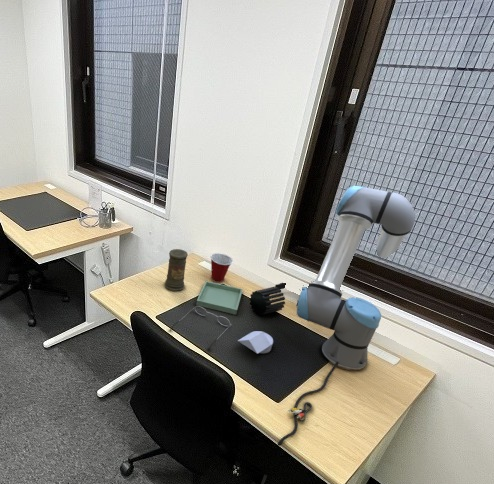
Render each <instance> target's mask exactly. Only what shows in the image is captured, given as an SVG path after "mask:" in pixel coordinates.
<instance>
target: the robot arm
mask: <svg viewBox="0 0 494 484" xmlns="http://www.w3.org/2000/svg"><path fill="white" fill-rule="evenodd" d="M335 214H336V215H337V221H338V222H339V225H338V227H337V229H336V232H335V234H334V237H333V239H332V240H331V243H330V245H329V248H328V250H327V253H326V254H325V257H324V259H323V262H322V265H321V267H320V269H319V271H318V273H317V276H316V278H315V279H314V280H315V281H313V280H312V281H313V282H312V281H310V282H311V283H310V282H308V283H309V286H308V288H307V287H304V286H303V287H302V291H301V290H300V294H299V297H298V299H297V301H296V305H295V306H296V315H297V317H298V318H299V319H303V320H305V321H307V322H310V323H313V324H315V325H318V326H321V327H322V328H323V327H324V328H326V329H330V330H332V331H333V333H332V335H331V336H329V337H328V338H327V340H325V341H324V342H323V344H322V346H321V349H320V353H321V355H322V357H323V358H324V359H325V360H326V361H327V362H328V363H330V364H331V365H333V366H332V367H331V369H330V371H329V372H328V374H327V375H326V377H325V378H324V381H323V383H322V385H321V386H320V387H319V388H317V389H314V390H310V391H307V392H305V393H303V394H301V395H300V396H299V397H298V398H297V399H296V401H295V403H294V406H293V408H297V409H298V407H299V404H300V402H301V401H302V399H304V398H305V397H306V396H309V395H312V394H316V393H319V392H321V391H322V390H324V389H325V387H326V386H327V384H328V381H329V379H330V377H331V375H332V374H333V373H334V371H335V369H336V368H338V369H341V370H345V371H352V372H358V371H361V370H363V369H364V368H365V367H366V365H367V363H368V353H369V352H368V351H369V350H368V347H369V345H370V343H371V341H372V340H373V337H374V334H375V333H376V330H377V329H378V328H379V326H380V322H381V319H382V313H381V310H380V309H379V308H378V307H377V306H376V305H374V304H373V303H372V302H370V301H369V300H366V299H363V298H361V297H354V296H352V297H349V298H347V299H342V296H343V293H342V292H343V291H341V290H340V287H341V284H342V282H343V280H344V277H345V275H346V273H347V270H348V268H349V266H350V263H351V261H352V259H353V256H354V254H356V251H357V249H358V247H359V244H360V242H361V240H362V238H363V235H364V233H365V231H366V230H368V229H371V228H372V226H373V224H377V225H380V228H381V232H380V235H379V237H378V240H377V242H376V244H377V247H376V246H375V247H376V250H377V255H378V256H379V257H382V258H386V257H388V256H390V255H391V254H393V253H394V252H395V251H396V250H397V249H398V248H400V247H399V246H401V245H402V243H403V240H404V238H405V236H407V235H409V234H410V233H411V231H412V229H413V228H414V225H415V221H416V220H415V219H416V217H415V210H414V208H413V206H412V204H411V203H410V201H409V200H408V199H407V198H406V197H405V196H403V195H402V194H400V193H397V192H392V191H387V190H381V189H377V188H371V187H366V186H358V185H352V186H350V187H348V188H347V190H346V191H344V193H343V195H342V197H341V199H340V200H339V203H338V205H337V207H336V209H335ZM400 244H401V245H400ZM398 250H399V249H398ZM285 285H286V283H283V282H280V283H277V284H275V285H274V287H275V288H276V287H277V288H278V290H284V288H285ZM285 289H286V288H285ZM293 415H294V417H293V421H294V427H293V430H292V431H291V432H289V433H287V434H286V435H284V436H283V437H281V438H280V439H279V441H278V442H277V446H279V447H280V446H281V445H282V443H283V442H285V441H286V440H287V439H288V438H290V437H293V436H294V435H295V434H296V433H297V431H298V429H299V428H298V427H299V424H298V418H297V417H298V416H296V415H295V414H292V416H293ZM267 478H268V475H267V474H264V475H263V476H262V480H261V483H260V484H265V483H266V480H267Z"/></svg>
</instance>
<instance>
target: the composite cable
mask: <svg viewBox="0 0 494 484" xmlns="http://www.w3.org/2000/svg"><path fill="white" fill-rule="evenodd" d="M307 406H308V408H307ZM312 408H313V405H312V403H311V402H309V401H306V402H305V403H303V409H302V408H298V407H297V408H294V407H292V408H290V409H289V410H288V412H291V414H292V417H293V418H294V415H293V414H295V415H296V417H297V421H299V422H301V423H304V422H305V421H306V414H307V413H308V412H309V411H311V410H312ZM303 417H304V418H303Z"/></svg>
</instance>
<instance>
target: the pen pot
mask: <svg viewBox="0 0 494 484" xmlns="http://www.w3.org/2000/svg"><path fill="white" fill-rule="evenodd" d="M285 300H286V297H285V294H284V293H283V292H282V289H280V290H278V288H277V287H276V288H275V286H271V287H267V288H263V289H257V290H255V291H252V292H251V294H250V297H249V301H250V302H249V305H250V308H251V309H250V310H252V312H253V313H255V314H256V315H257V316H259V317H260V316H265V315H269V314H272V313H277V312H281V311H282V310H283V309H284V308H285V305H286V301H285Z"/></svg>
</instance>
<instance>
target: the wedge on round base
mask: <svg viewBox="0 0 494 484" xmlns="http://www.w3.org/2000/svg"><path fill="white" fill-rule="evenodd" d="M237 342H238V343H240V344H242V345H243V346H245V347H247V348H248V349H250V350H251V351H253V352H254V353H256V354H268V353H270V351H272V349H273V348H272V347H273V344H274V339H273V337H272V336H271V335H270V334H268V333H267V332H265V331H260V330H255V331H251V332H249V333H248V334H246V335H244V336H243V337H241V338H240V339H237Z"/></svg>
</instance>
